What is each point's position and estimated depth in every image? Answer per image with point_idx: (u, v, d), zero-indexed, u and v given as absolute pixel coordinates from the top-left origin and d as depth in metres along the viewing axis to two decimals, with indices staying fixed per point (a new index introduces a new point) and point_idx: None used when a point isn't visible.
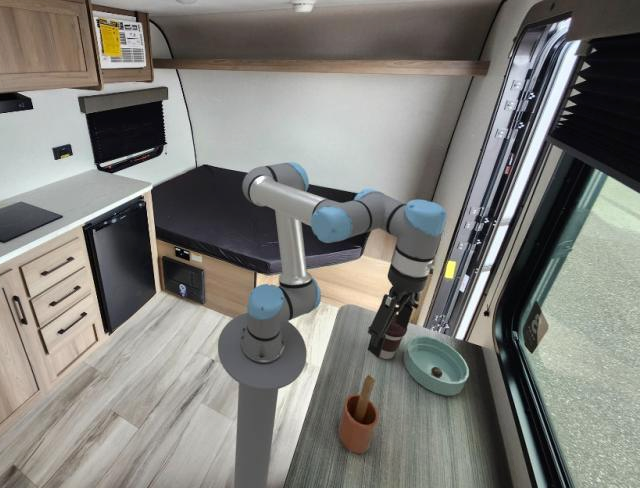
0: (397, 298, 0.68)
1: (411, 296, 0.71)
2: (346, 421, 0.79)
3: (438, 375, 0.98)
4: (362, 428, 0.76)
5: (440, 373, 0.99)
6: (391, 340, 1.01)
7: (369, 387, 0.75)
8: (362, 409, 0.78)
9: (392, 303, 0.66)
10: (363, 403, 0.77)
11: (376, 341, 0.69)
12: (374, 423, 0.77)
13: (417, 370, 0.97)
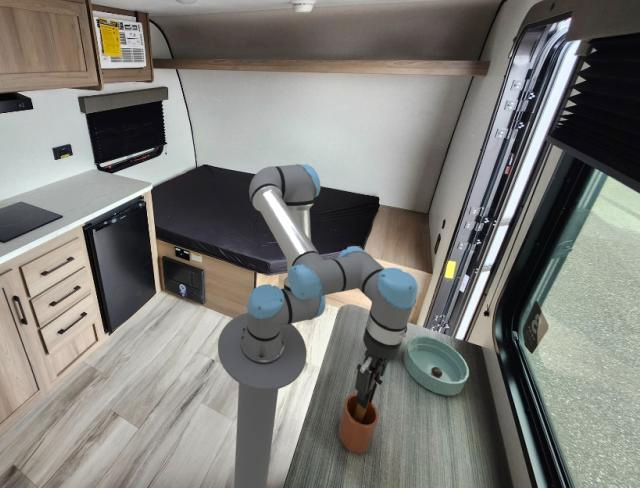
0: (371, 364, 0.69)
1: (385, 359, 0.71)
2: (346, 421, 0.79)
3: (438, 375, 0.98)
4: (362, 428, 0.76)
5: (440, 373, 0.99)
6: None
7: None
8: (362, 409, 0.78)
9: (365, 375, 0.68)
10: None
11: (363, 395, 0.74)
12: (374, 423, 0.77)
13: (417, 370, 0.97)
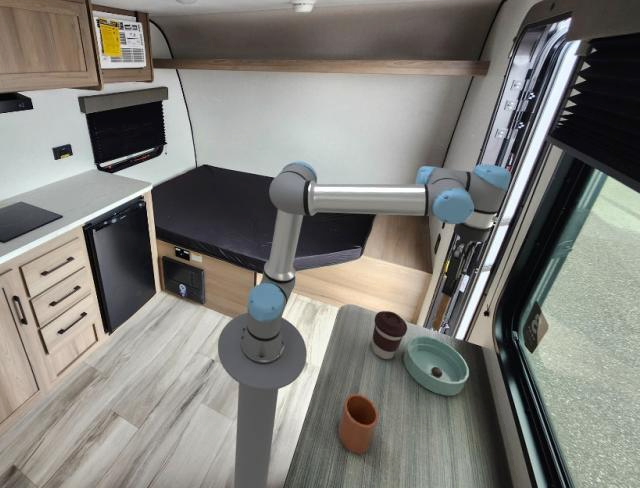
0: (464, 249, 0.82)
1: (473, 248, 0.84)
2: (346, 421, 0.79)
3: (438, 375, 0.98)
4: (362, 428, 0.76)
5: (440, 373, 0.99)
6: (391, 340, 1.01)
7: None
8: (447, 299, 0.91)
9: (460, 256, 0.81)
10: None
11: (451, 283, 0.87)
12: (374, 423, 0.77)
13: (417, 370, 0.97)
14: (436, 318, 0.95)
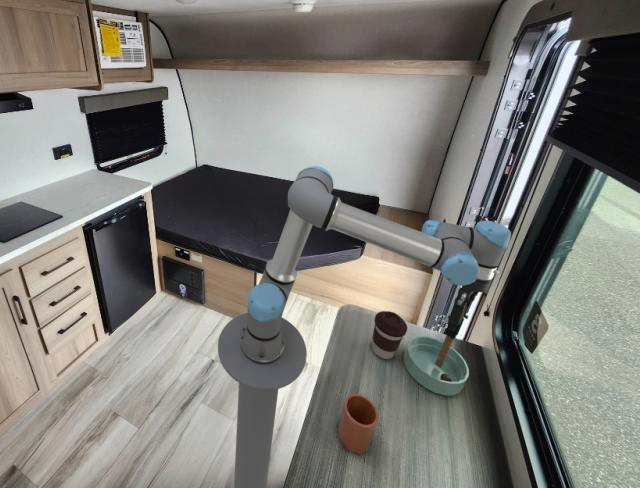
0: (466, 298, 0.88)
1: (475, 295, 0.90)
2: (346, 421, 0.79)
3: None
4: (362, 428, 0.76)
5: None
6: (391, 340, 1.01)
7: None
8: (450, 340, 0.97)
9: (463, 305, 0.87)
10: None
11: (454, 326, 0.93)
12: (374, 423, 0.77)
13: (417, 370, 0.97)
14: (439, 356, 1.01)
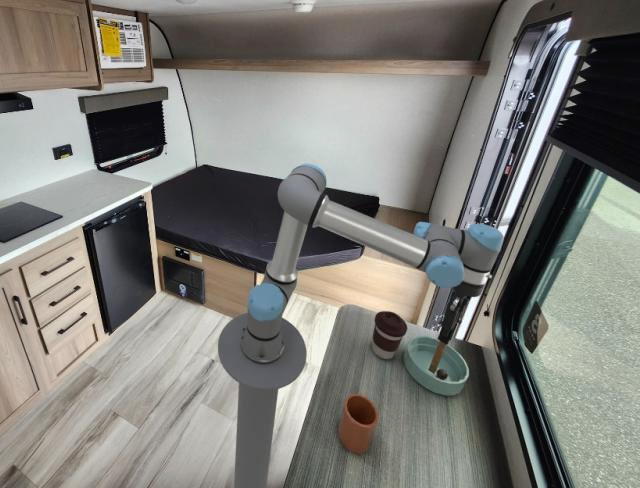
0: (459, 303, 0.85)
1: None
2: (346, 421, 0.79)
3: (442, 378, 0.98)
4: (362, 428, 0.76)
5: (445, 378, 0.98)
6: (391, 340, 1.01)
7: None
8: (443, 346, 0.95)
9: (455, 311, 0.84)
10: None
11: (447, 332, 0.91)
12: (374, 423, 0.77)
13: (417, 370, 0.97)
14: (432, 362, 0.98)
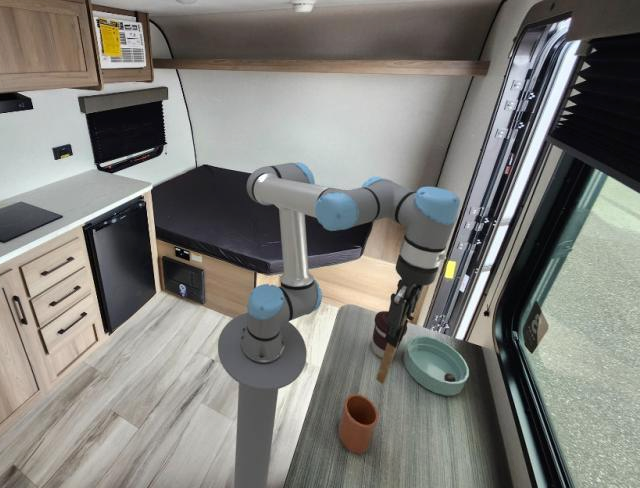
0: (406, 293, 0.65)
1: (419, 290, 0.67)
2: (346, 421, 0.79)
3: None
4: (362, 428, 0.76)
5: None
6: None
7: None
8: (392, 349, 0.74)
9: (400, 303, 0.64)
10: None
11: (394, 331, 0.70)
12: (374, 423, 0.77)
13: (417, 370, 0.97)
14: (381, 369, 0.78)
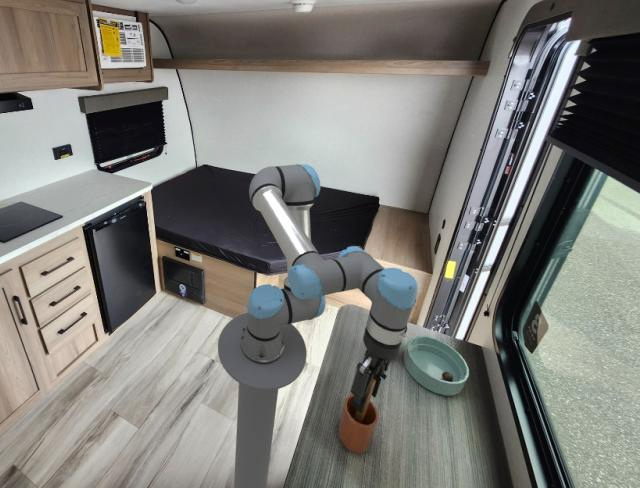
0: (371, 364, 0.69)
1: (385, 359, 0.71)
2: (346, 421, 0.79)
3: (446, 380, 0.97)
4: (362, 428, 0.76)
5: None
6: None
7: (370, 388, 0.75)
8: (363, 410, 0.78)
9: (365, 374, 0.67)
10: None
11: (359, 399, 0.73)
12: (374, 423, 0.77)
13: (417, 370, 0.97)
14: None
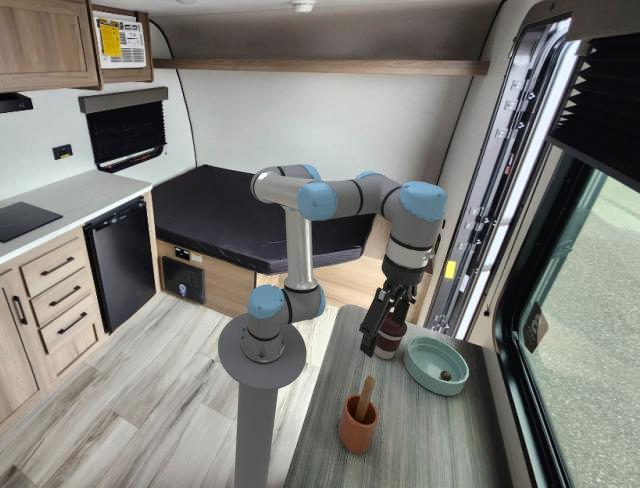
0: (392, 292, 0.61)
1: (407, 290, 0.64)
2: (346, 421, 0.79)
3: (445, 379, 0.98)
4: (362, 428, 0.76)
5: None
6: (391, 340, 1.01)
7: (370, 388, 0.75)
8: (363, 410, 0.78)
9: (386, 297, 0.59)
10: (364, 403, 0.77)
11: (368, 340, 0.62)
12: (374, 423, 0.77)
13: (417, 370, 0.97)
14: None
